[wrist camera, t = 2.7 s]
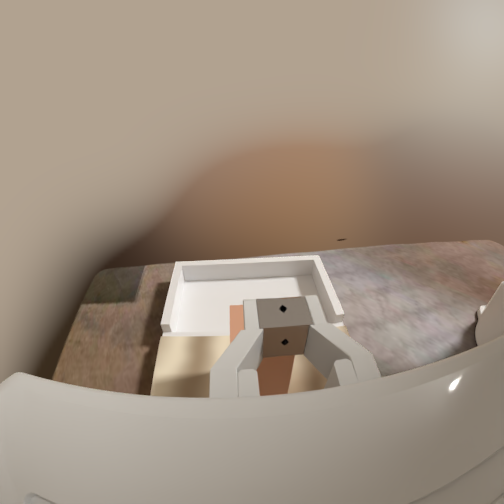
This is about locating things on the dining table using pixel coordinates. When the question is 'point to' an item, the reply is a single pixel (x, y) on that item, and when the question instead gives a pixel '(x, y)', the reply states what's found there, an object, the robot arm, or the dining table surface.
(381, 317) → the dining table surface
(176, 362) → the birch board
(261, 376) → the block
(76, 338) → the dining table surface
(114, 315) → the dining table surface
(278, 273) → the box
